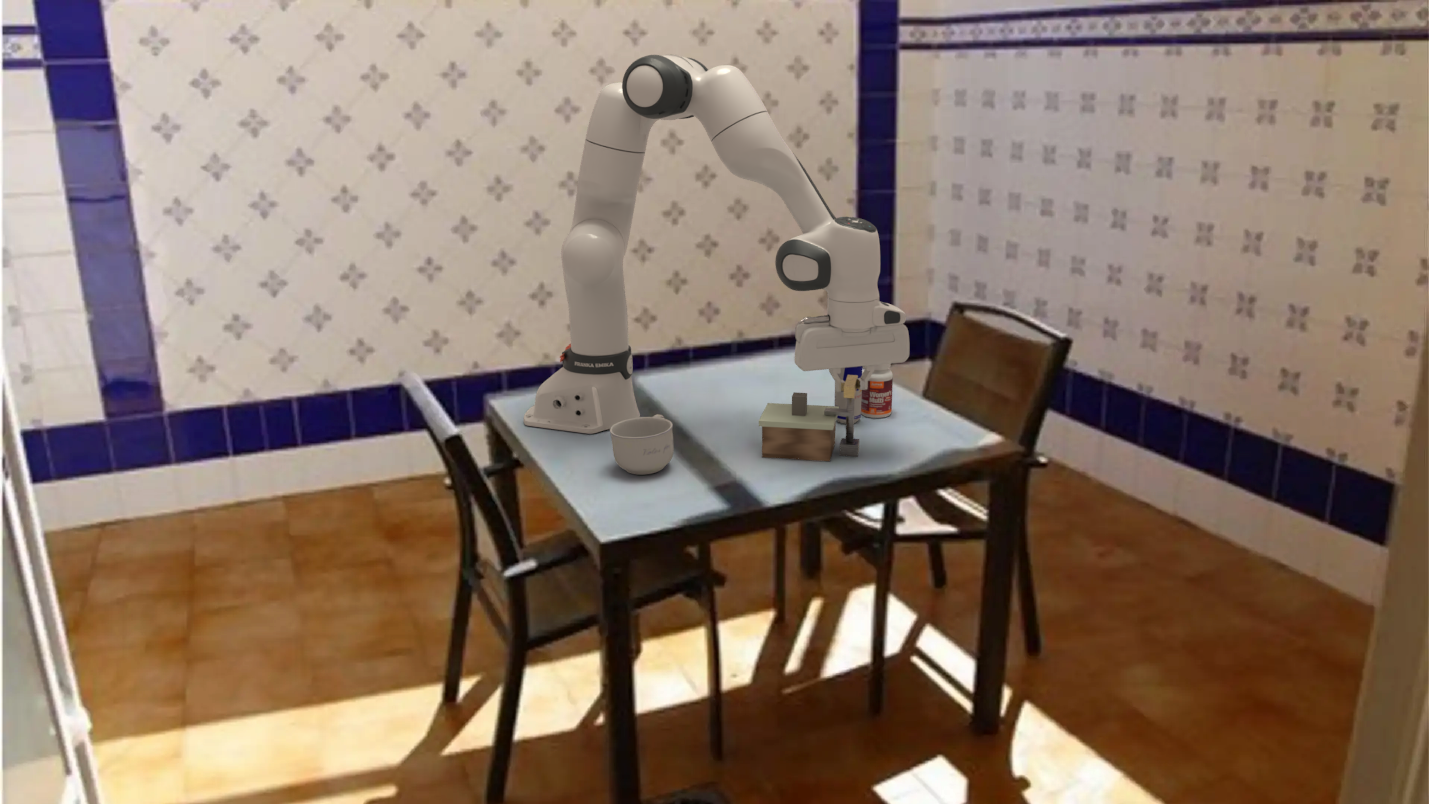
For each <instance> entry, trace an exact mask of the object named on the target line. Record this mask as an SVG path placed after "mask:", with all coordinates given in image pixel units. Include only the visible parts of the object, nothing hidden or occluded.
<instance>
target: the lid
mask: <svg viewBox="0 0 1429 804" xmlns="http://www.w3.org/2000/svg"><path fill="white" fill-rule="evenodd" d="M825 408H839V406H835V405H819V404H818V405H816V404H808V393H807V392H793V394H792V395H791V403H777V402H776V403H775V402H767V404H766V406H765V408H764V409H763V411H762V414H761V416H760V418H759V419H758V427H762V426H763V427H782V428H801V429H820V430H833V428H834V425H835V422H836V423H837V415H824V410H825Z"/></svg>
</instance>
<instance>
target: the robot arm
mask: <svg viewBox="0 0 1429 804" xmlns="http://www.w3.org/2000/svg"><path fill="white" fill-rule="evenodd" d="M693 117H694V118H696V119H697V120H698V121H699V122H700V123H701V125H702V126H703V128H704V130H705V132H706V134H707V136H708V138H709V141H710V142H711V145H712V146H713V149H714V150H715V152H716V154H717V156H718V158H719V159H720V161H721V162H722V163H723V165H724V166H725V167H726V169H727V170H728V171H729V172H730V173H731V174H732V175H734V176H736V177H738V178H740V179H743V180H747V181H751V182H755V183H758V184H759V185H763V186H765V187H767V188H769V189H770V190H772V191H773V192H775V193H776V194H777V196H779V198H781V200H782V201H783V202H784V204H785V206H786V208H787V209H788V211H789V214H791V217H793V219H794V221H795V222H796V224H797V226H798V227H799V229H800V230H801V233H802V234H800V235H797V236H794V237H792V238H790V239H788V240H786V241H785V242H784V243H782V244H781V245H780V246H779V248H778V250H777V252H776V255H775V261H774V263H775V269H776V270H775V271H776V273H777V276H778V278H779V280H780V281H781V283H783V285H784V286H785V287H787V288H788V289H790V290H792V291H795V292H810V291H818V290H824V291H825V292H826V293H827V302H826V303H827V305H826V306H827V308H826V309H827V310H826V315H825V314H824V315H817V316H805V317H803V318H802V319H801V320H799V321H798V322H797V323H796V324H795V329H794V337H795V340H796V341H795V349H794V364H795V365H796V367H798V368H799V369H800V370H802V371H803V372H813V371H821V370H828V371H829V374H830V375H831V377H832V379H833V380H834V391H835V390H836V391H837V392H844V385H845V381H844V380H840V378H839V376H838V375H837V373H838V374H840V373H841V368H846V367H857V366H862V369H863V370H864V369H865V370H864V372H863V374H862V376H861V378H857V389H858V390H866V389H867V388H868V380H869V378H870V377H871V375H872V374H873V372H874V365H879V364H890V363H891V364H900V363H905V362H906V361H907V360H908V359H909V357H910V335H909V330H908V327H907V325H905V322H906V319H907V314H906V312H904V311H903V309H901V308H899V307H897V305H894V304H890V303H888V302H883V301H880V291H879V288H878V281H879V277H880V274H881V245H880V238H879V237H880V236H879V233H878V229H877V227H876V226H875V224H873V223H872V222H870V221H868V220H866V219H862V218H860V217H855V216H852V217H851V216H840V217H836V216H835V215H834V213H833V212H832V210H831V208H830V207H829V205H828V204H827V202H826V201H825V199H824V198H823V195H821V192H820V191H819V190H818V189H819V188H817V186H816V184H815V183H814V181H813V180H812V178H811V176H810V175H809V173H808V172H807V170H806V168H805V167H804V165H803V164H802V162H801V161H800V160H799V158H798V157H797V156H796V154H795V153H794V152H793V150H791V148H790V147H789V145H788V144H787V143H786V141H785V140H784V138H783V137H782V135H781V133H780V131H779V129H778V128H777V126H776V125H775V123H774V121H773V119H772V117H771V115H770V114H769V111H768V109H767V107H766V106H765V103H764V102H763V100H762V98H761V97H760V95H759V93H758V92H757V90H756V88H754V86H753V85H752V83H751V82H750V80H749V79H748V77H746V75H745V74H744V72H742V70H741V69H740V68H738V67H737V66H734V65H731V64H721V65H717V66H714V67H711V68H710V69H709V68H707V66H705V65H704V64H703V63H702V62H700V61H699V60H697V59H695V58H692V57H686V56H683V55H678V54H664V55H660V54H649V55H645V56H642V57H640V58H637V59H636V60H634V61H633V62H632V63H631V64H630V65H629V66H628V67H627V68H626V70H625V72H624V75H623V77H622V82H621V81H620V82H612V83H610V84H607V85H605V86H604V87H603V88H602V89H601V90H600V91H599V93H598V96H597V98H596V101H595V104H594V106H593V109H592V112H591V114H590V119H589V122H588V124H587V125H588V127H587V130H586V135H585V139H584V144H583V149H582V150H583V151H582V155H581V162H580V167H579V172H578V176H577V182H576V183H577V185H576V195H575V203H574V210H573V211H574V212H573V215H572V217H573V218H572V225H571V228H570V231H569V233H567V236H566V237H565V238H564V241H563V243H562V246H561V253H560V254H561V263H562V272H563V281H564V288H565V295H566V301H567V306H568V307H567V308H568V314H569V315H568V317H569V332H570V333H569V335H570V336H569V337H570V343H569V344H568V345H567V346H566V347H565V349H564V351H562V352H561V355H559V363H562V367H561V368H559V369H558V370H557V371H556V372H554V373H553V374H552V375H550V377H548V378H547V379H546V380H544V381H543V383H541V384H540V386H539V387H538V389H537V391H536V394H535V398H534V404H533V405H532V406H531V407H530V408H528V409H527V410H526V412H525V413H524V415H523V424H524V425H525V426H528V427H536V428H542V429H543V428H544V429H549V430H551V429H552V430H556V431H558V430H559V431H566V432H574V433H581V434H589V435H591V434H596V433H600V432H602V431H606V430H610V428H611V427H612V426H613V425H614V424H616V423H618V422H621V421H624V420H627V419H631V418H638V417H641V414H640V411H639V408H638V404H637V402H636V397H635V393H634V392H635V391H634V387H633V380H632V375H633V371H634V369H633V365H634V364H633V355H632V348H631V346H630V344H629V343H630V341H629V320H628V319H629V318H628V317H629V315H628V304H627V296H626V289H625V278H624V277H625V275H624V258H625V256H626V252H627V250H628V246H629V241H630V239H629V238H630V234H631V228H632V223H633V218H634V211H635V207H636V206H635V205H636V201H637V200H636V199H637V196H638V195H637V194H638V188H639V184H640V179H641V175H642V169H643V166H644V165H643V164H644V159H645V156H646V150H647V145H648V141H649V140H648V139H649V135H650V132H651V130H652V127H653V126H654V124H656V122H657V121H659V120H662V121H675V120H684V119H690V118H693Z"/></svg>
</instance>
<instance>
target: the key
mask: <svg viewBox="0 0 1429 804" xmlns="http://www.w3.org/2000/svg"><path fill="white" fill-rule="evenodd" d="M857 378H858V375H847V378H846V381H845V385H844V398H847V401H846V409H839V408H825V410H824V415H837V416H846V424H845V438H846V442H854V439H855V438H854V437H855V423H854V402H855V393H856V390H857Z"/></svg>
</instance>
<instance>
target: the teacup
mask: <svg viewBox="0 0 1429 804" xmlns="http://www.w3.org/2000/svg"><path fill="white" fill-rule="evenodd" d="M673 426H674V424H673V422H672V421H671V420H669V419H666V418H665V416H663V414H658V413H657V414H654V415H653V416H640V417H638V418H631V419H627V420H624V421H621V422H618V423H616V424H614V425H613V426H612V427H611V428H610V429H609V432H610V437H611V445H612V452H613V457H614V461H615V463H616V464H617V466H619V468H622V470H625V472H626V473H629V474H632V475H638V476H641V475H651V474H652V475H653V474H654V473H658V472H660V471H661V470H663V469H664V468H665V467H666V465H667V466H668V464H669V463H670V462H671V460H672V458H673V456H674V450H675V449H674V434H673V433H674V431H673Z"/></svg>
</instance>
